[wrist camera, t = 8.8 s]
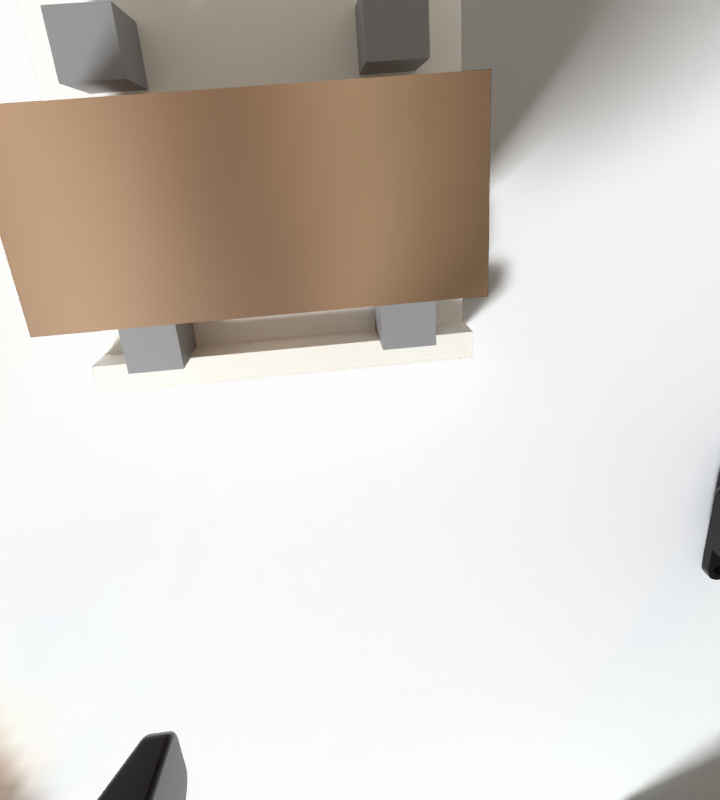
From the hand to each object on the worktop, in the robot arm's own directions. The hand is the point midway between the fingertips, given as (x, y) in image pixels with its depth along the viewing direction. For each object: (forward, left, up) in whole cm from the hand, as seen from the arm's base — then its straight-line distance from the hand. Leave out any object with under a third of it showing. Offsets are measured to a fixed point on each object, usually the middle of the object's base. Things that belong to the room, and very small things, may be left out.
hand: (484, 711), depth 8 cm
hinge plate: (+3, -7, -12) cm, 15 cm away
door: (+3, -7, -11) cm, 14 cm away
